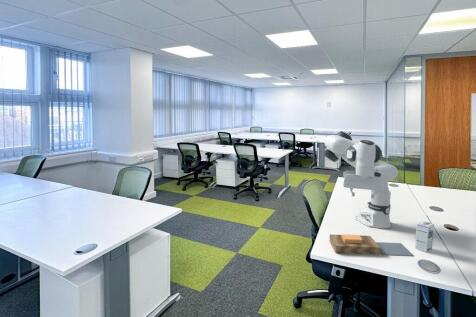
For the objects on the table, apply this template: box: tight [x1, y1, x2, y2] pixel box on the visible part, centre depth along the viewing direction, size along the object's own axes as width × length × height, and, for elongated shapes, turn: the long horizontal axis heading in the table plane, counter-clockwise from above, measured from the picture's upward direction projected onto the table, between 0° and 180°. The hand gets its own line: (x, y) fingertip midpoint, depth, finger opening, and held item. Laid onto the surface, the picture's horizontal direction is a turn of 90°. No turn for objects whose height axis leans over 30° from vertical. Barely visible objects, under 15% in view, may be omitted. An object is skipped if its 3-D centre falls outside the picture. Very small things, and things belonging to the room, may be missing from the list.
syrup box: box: [414, 220, 435, 253], centre depth 150 cm, size 6×6×14 cm
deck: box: [329, 233, 381, 256], centre depth 153 cm, size 22×14×4 cm, turn 85°
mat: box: [375, 241, 415, 257], centre depth 151 cm, size 16×14×1 cm
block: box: [341, 233, 363, 243], centre depth 152 cm, size 9×6×2 cm, turn 85°
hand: (362, 197), depth 151 cm, fingers open, 8 cm apart
